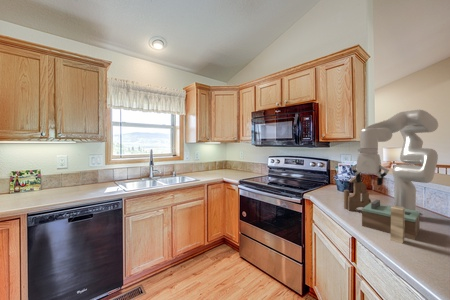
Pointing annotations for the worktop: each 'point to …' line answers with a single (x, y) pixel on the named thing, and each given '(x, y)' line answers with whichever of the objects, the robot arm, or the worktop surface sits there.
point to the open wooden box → (389, 224)
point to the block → (397, 224)
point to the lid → (389, 211)
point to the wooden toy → (356, 196)
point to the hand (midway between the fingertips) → (368, 183)
